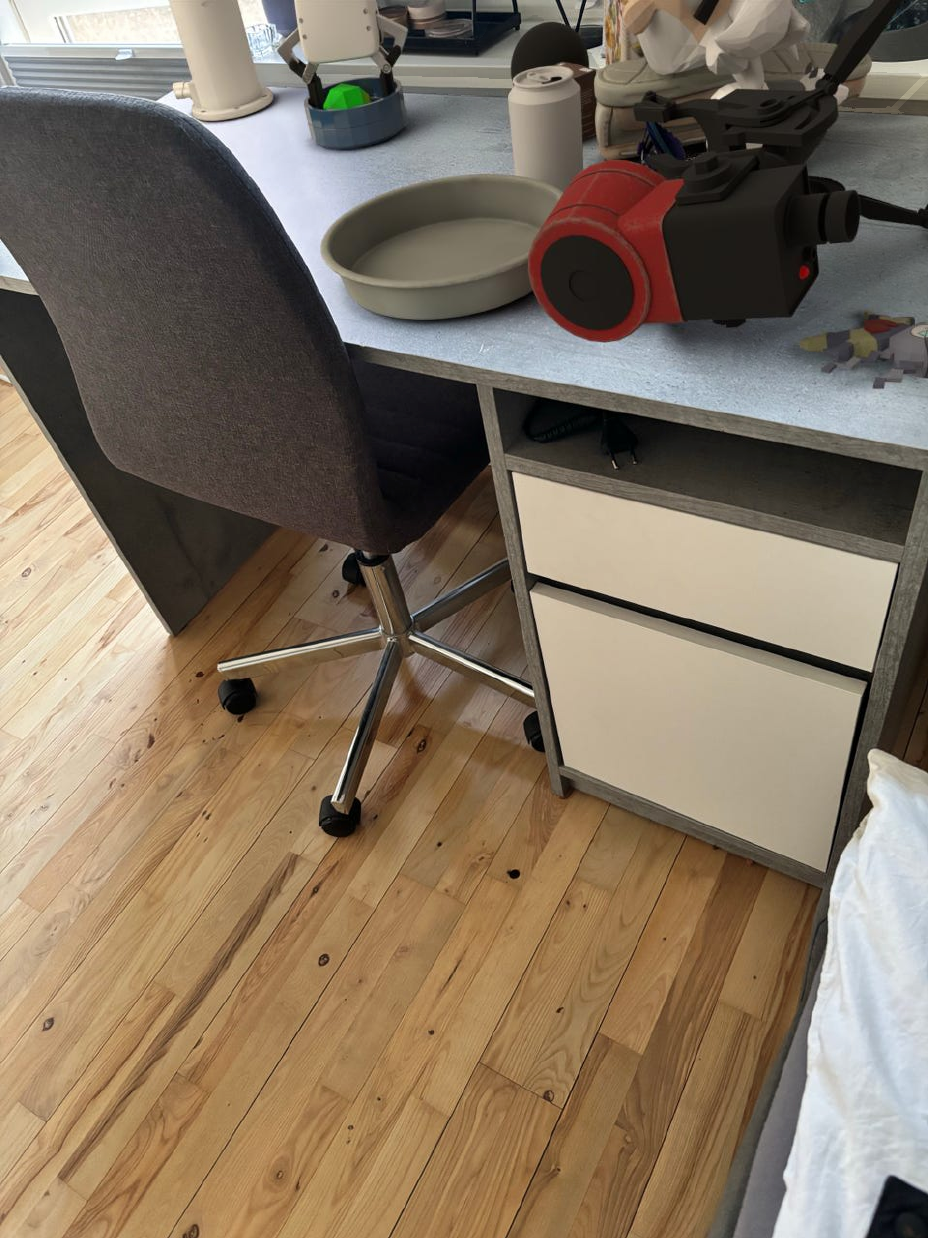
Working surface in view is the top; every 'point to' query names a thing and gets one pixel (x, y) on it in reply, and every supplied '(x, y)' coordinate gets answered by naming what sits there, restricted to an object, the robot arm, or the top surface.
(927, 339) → the toy
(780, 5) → the toy
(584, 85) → the box
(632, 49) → the decorative jar
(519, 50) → the decorative ball
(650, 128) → the spaceship
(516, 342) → the top surface
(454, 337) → the top surface
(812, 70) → the giant panda
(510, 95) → the can
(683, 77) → the loafer
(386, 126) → the bowl
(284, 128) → the top surface
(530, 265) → the camera
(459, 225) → the cake pan
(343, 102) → the apple
